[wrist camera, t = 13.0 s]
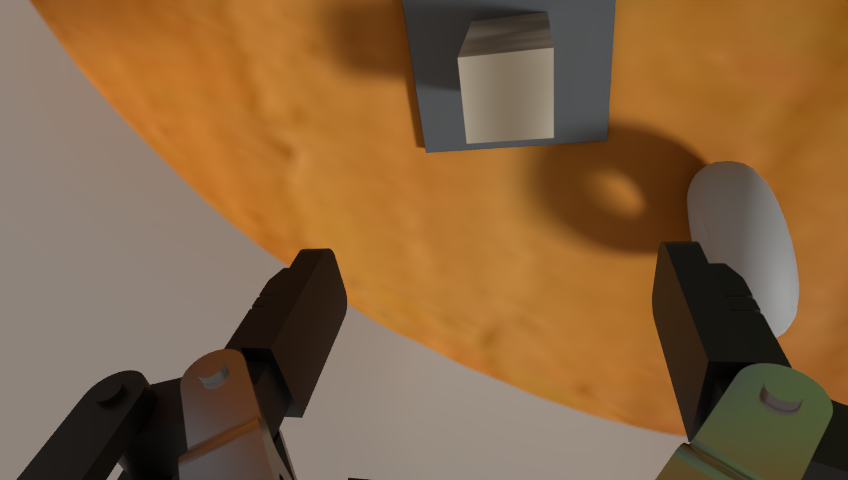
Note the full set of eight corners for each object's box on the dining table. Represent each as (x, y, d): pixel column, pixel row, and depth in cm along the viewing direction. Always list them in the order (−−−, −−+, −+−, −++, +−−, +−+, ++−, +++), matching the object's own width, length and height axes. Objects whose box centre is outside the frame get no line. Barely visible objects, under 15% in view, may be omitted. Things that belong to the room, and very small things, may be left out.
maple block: (547, 11, 26) (553, 47, 21) (548, 87, 29) (553, 137, 23) (471, 21, 27) (457, 57, 22) (478, 93, 29) (466, 143, 24)
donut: (670, 140, 30) (723, 236, 22) (736, 123, 29) (817, 218, 21) (688, 268, 35) (736, 385, 27) (745, 259, 34) (813, 377, 26)
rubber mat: (618, -77, 24) (620, -76, 24) (605, 136, 30) (607, 141, 30) (397, -43, 27) (395, -41, 26) (427, 148, 33) (425, 152, 32)
